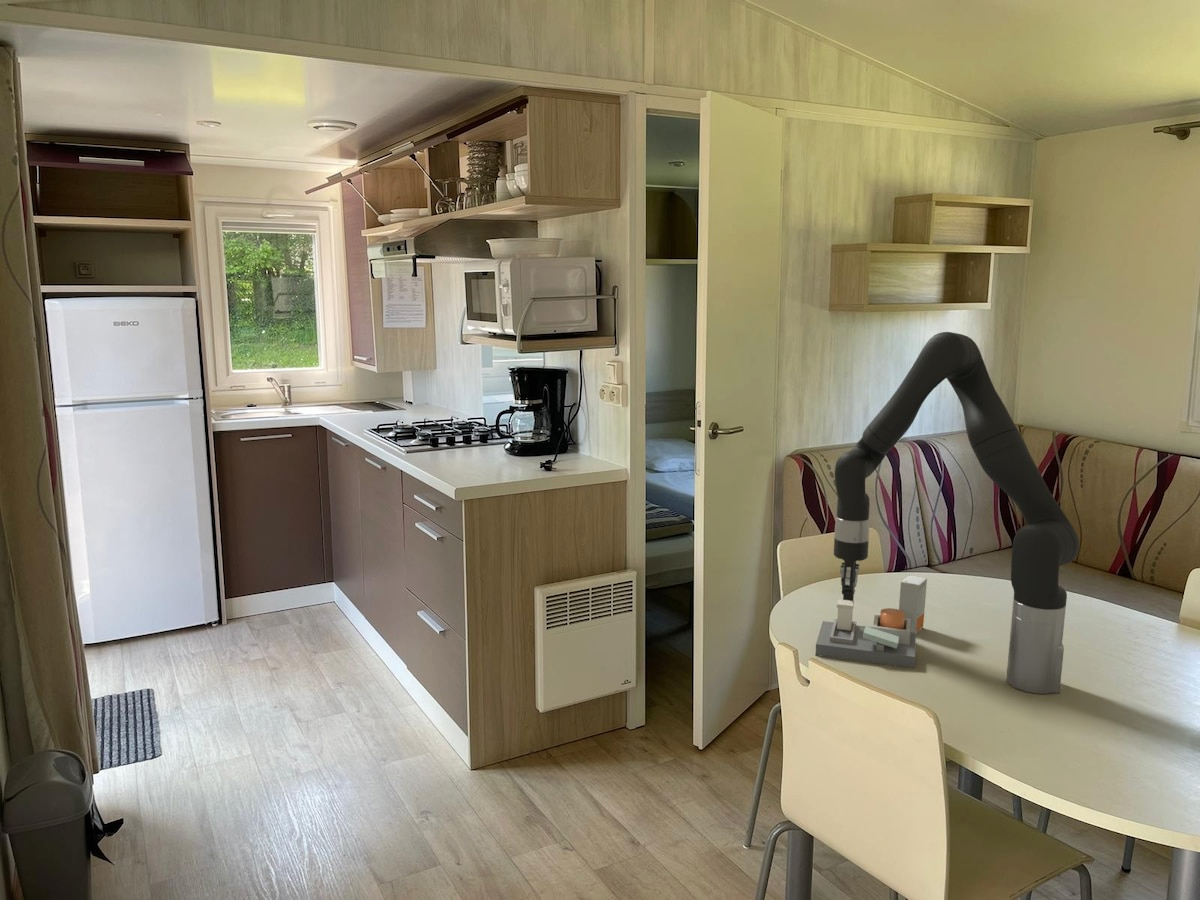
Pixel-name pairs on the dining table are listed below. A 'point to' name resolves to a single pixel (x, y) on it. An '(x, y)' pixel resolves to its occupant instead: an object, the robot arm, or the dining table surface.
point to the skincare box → (913, 600)
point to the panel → (867, 644)
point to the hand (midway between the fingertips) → (847, 609)
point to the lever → (845, 614)
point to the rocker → (881, 637)
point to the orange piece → (892, 618)
